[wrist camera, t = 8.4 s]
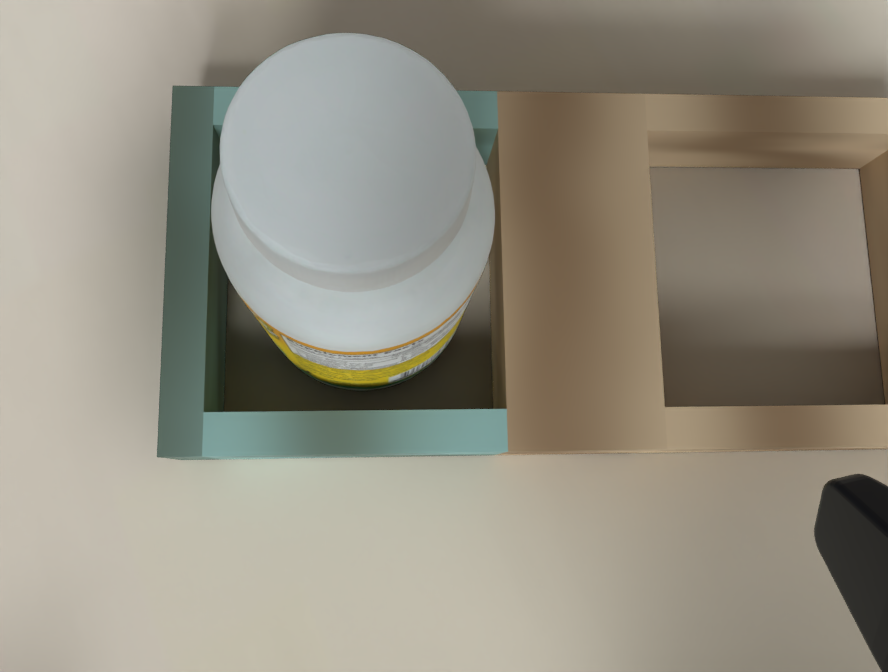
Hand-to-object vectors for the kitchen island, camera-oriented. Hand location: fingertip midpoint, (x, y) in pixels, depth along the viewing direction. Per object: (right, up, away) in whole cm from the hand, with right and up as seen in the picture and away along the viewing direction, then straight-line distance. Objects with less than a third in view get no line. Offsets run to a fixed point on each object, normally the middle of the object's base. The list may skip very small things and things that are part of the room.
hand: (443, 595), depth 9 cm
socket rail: (+3, +4, +13) cm, 14 cm away
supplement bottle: (-2, +4, +13) cm, 14 cm away
